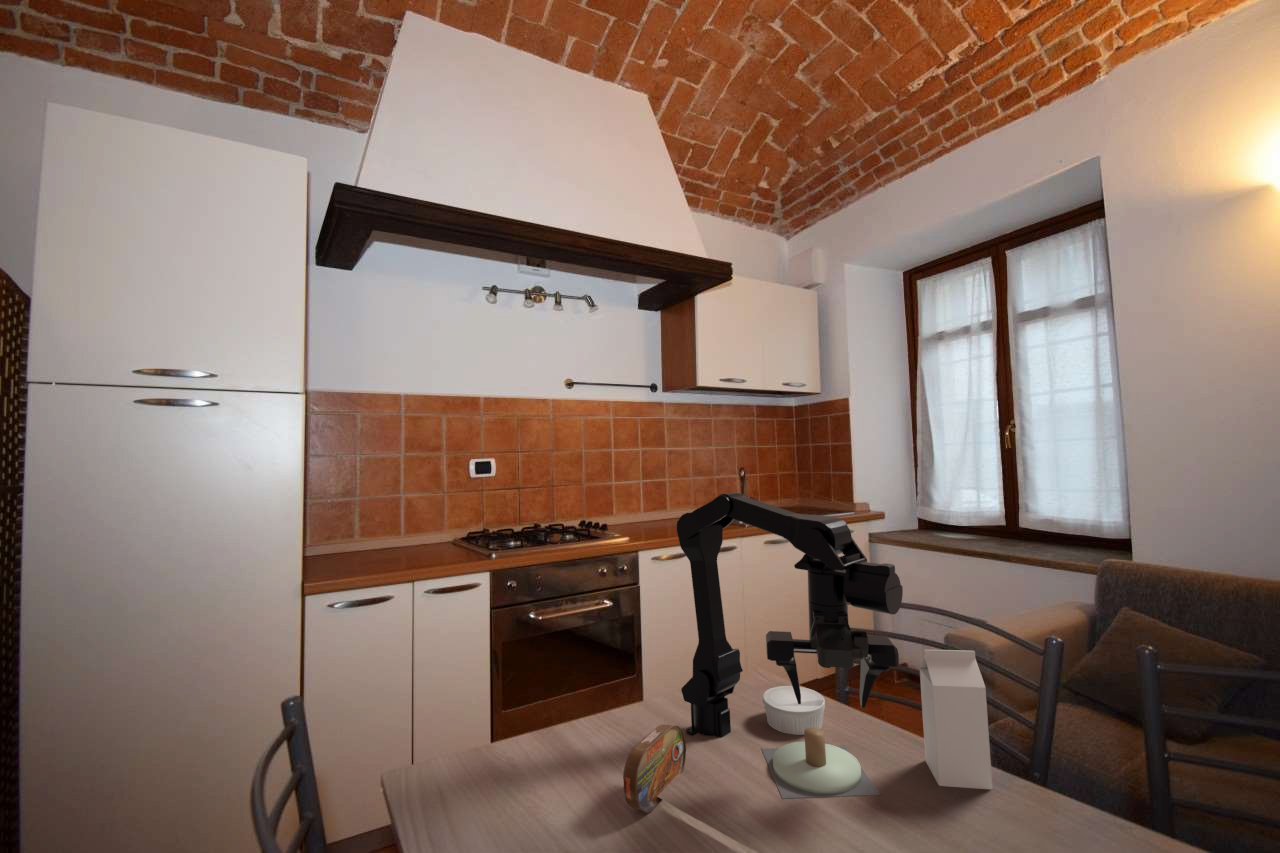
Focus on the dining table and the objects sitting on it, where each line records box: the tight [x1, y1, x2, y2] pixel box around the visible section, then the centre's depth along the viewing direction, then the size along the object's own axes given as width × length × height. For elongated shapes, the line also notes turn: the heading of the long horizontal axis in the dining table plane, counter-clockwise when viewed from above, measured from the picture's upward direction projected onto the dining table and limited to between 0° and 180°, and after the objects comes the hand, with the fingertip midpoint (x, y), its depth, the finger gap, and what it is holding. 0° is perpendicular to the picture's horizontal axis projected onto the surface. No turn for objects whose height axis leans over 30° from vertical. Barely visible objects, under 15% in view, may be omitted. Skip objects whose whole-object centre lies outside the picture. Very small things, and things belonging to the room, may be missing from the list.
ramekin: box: [762, 685, 826, 736], centre depth 105 cm, size 11×11×5 cm
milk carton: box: [919, 649, 993, 790], centre depth 87 cm, size 7×7×19 cm
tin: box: [622, 724, 687, 813], centre depth 86 cm, size 15×3×8 cm, turn 149°
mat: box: [761, 745, 881, 800], centre depth 89 cm, size 14×14×1 cm
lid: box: [773, 728, 862, 794], centre depth 89 cm, size 13×13×6 cm
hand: (830, 705), depth 87 cm, fingers open, 9 cm apart
